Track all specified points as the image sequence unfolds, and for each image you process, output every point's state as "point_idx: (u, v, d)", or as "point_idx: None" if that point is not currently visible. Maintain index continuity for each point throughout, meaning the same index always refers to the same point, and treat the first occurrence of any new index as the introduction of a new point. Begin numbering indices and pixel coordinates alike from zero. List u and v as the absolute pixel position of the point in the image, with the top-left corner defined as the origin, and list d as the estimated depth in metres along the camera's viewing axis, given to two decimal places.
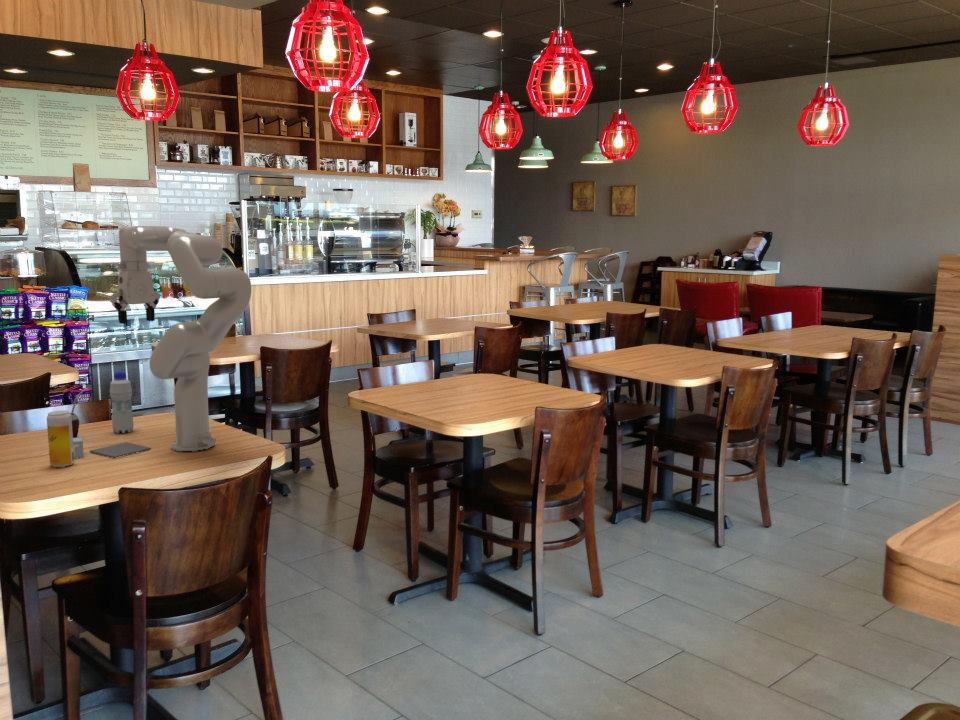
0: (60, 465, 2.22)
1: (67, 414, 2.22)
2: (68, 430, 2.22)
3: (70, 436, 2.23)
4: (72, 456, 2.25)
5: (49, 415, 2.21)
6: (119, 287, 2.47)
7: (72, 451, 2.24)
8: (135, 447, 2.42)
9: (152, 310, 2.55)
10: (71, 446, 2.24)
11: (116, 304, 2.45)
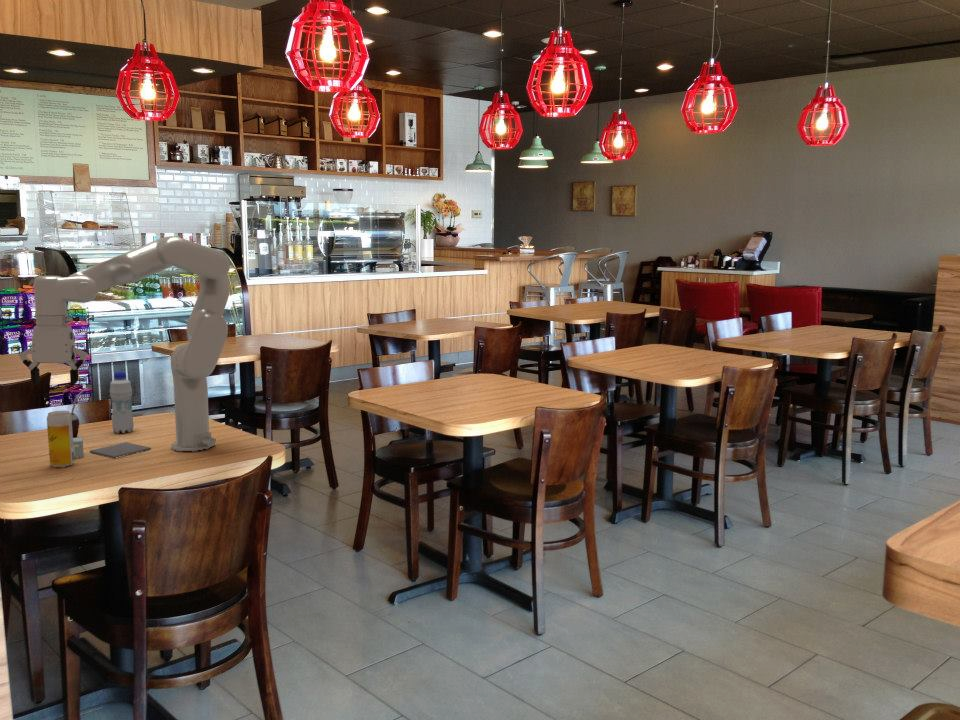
0: (60, 465, 2.22)
1: (67, 414, 2.22)
2: (68, 430, 2.22)
3: (70, 436, 2.23)
4: (72, 456, 2.25)
5: (49, 415, 2.21)
6: (71, 343, 2.20)
7: (72, 451, 2.24)
8: (135, 447, 2.42)
9: None
10: (71, 446, 2.24)
11: None
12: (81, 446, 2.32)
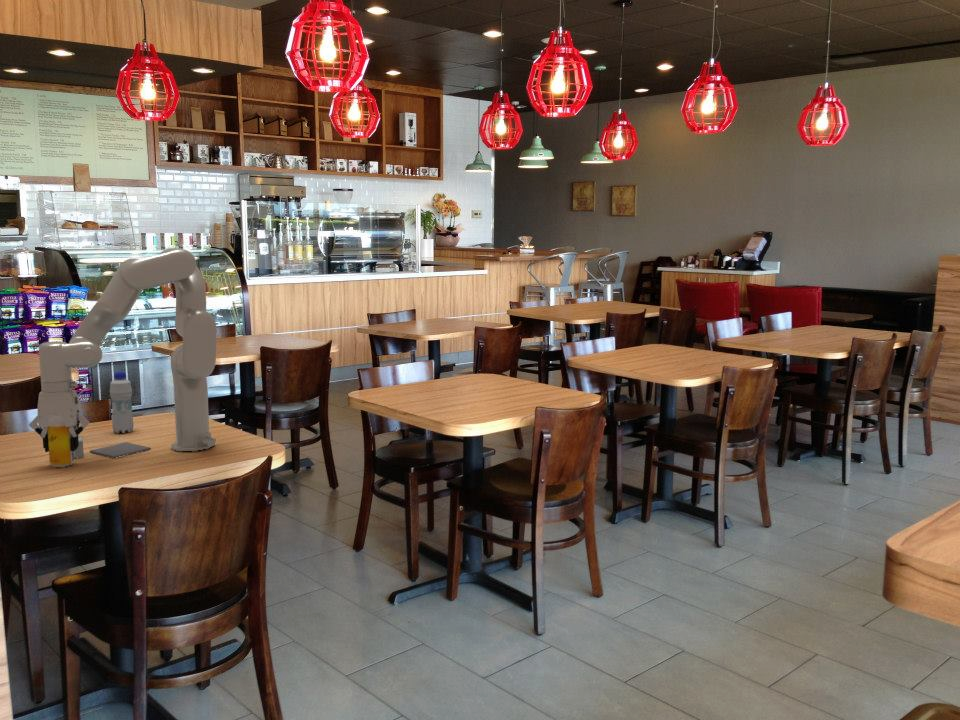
0: (59, 465, 2.22)
1: None
2: (68, 430, 2.22)
3: (70, 436, 2.23)
4: (72, 456, 2.25)
5: None
6: (77, 408, 2.23)
7: (72, 451, 2.24)
8: (135, 447, 2.42)
9: None
10: None
11: None
12: (81, 446, 2.32)
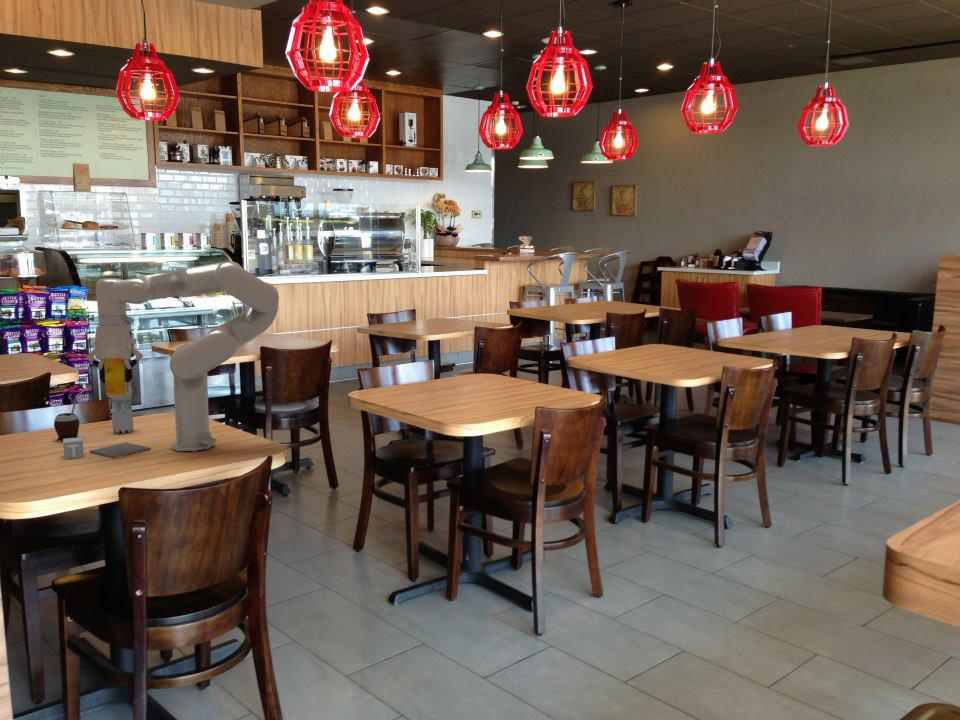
0: (115, 395, 2.35)
1: None
2: (123, 362, 2.35)
3: (125, 368, 2.36)
4: (127, 387, 2.37)
5: None
6: (131, 341, 2.36)
7: (126, 383, 2.37)
8: (135, 447, 2.42)
9: None
10: None
11: None
12: (81, 446, 2.32)
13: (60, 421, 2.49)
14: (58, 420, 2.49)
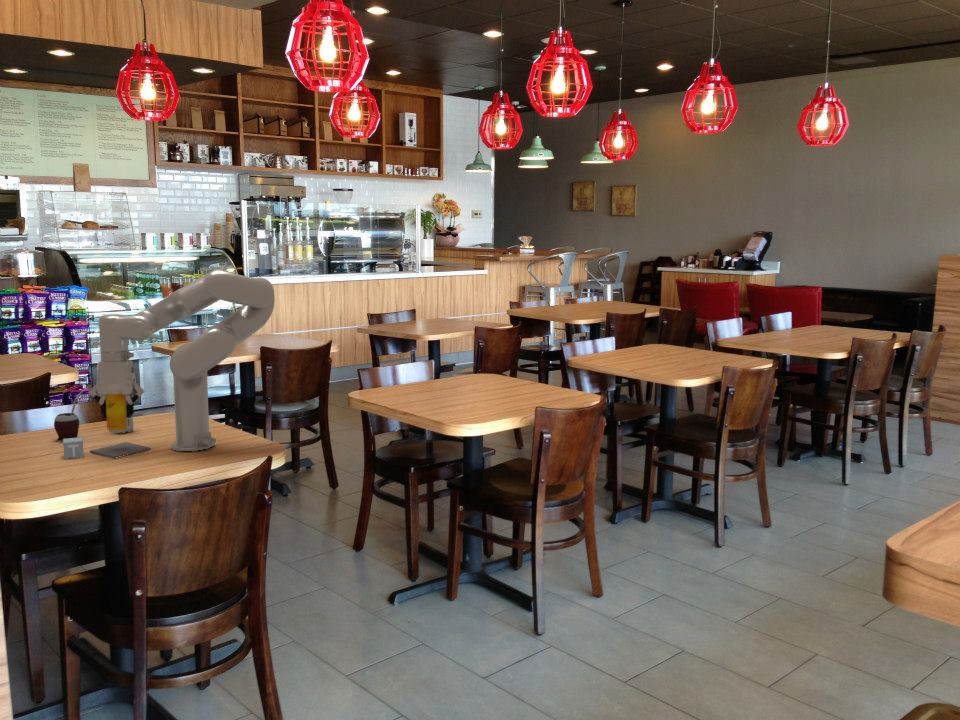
0: (116, 430, 2.36)
1: None
2: (124, 398, 2.37)
3: (126, 403, 2.38)
4: (128, 422, 2.39)
5: None
6: (133, 377, 2.37)
7: (128, 418, 2.39)
8: (135, 447, 2.42)
9: None
10: None
11: None
12: (81, 446, 2.32)
13: (60, 421, 2.49)
14: (58, 420, 2.49)
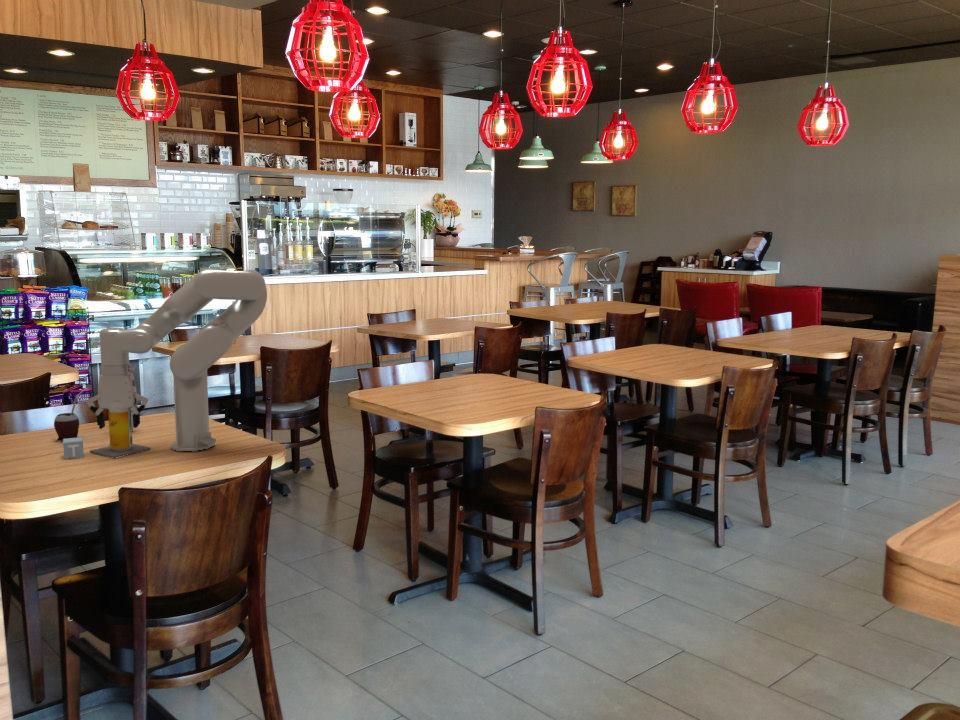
0: (119, 448, 2.37)
1: None
2: (127, 416, 2.38)
3: (129, 422, 2.38)
4: (131, 440, 2.40)
5: None
6: (134, 390, 2.38)
7: (130, 436, 2.39)
8: (135, 447, 2.42)
9: None
10: (130, 431, 2.39)
11: None
12: (81, 446, 2.32)
13: (60, 421, 2.49)
14: (58, 420, 2.49)
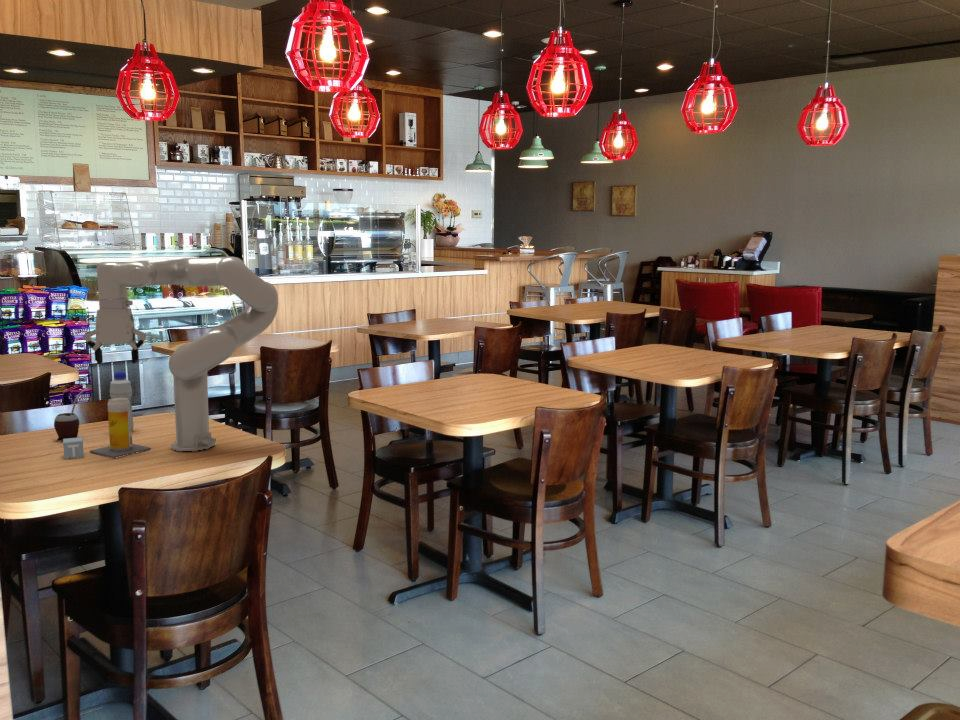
0: (119, 448, 2.37)
1: (126, 401, 2.38)
2: (127, 416, 2.38)
3: (129, 421, 2.38)
4: (130, 440, 2.40)
5: (110, 401, 2.36)
6: (132, 325, 2.36)
7: (130, 436, 2.39)
8: (135, 447, 2.42)
9: None
10: (129, 431, 2.39)
11: None
12: (81, 446, 2.32)
13: (60, 421, 2.49)
14: (58, 420, 2.49)
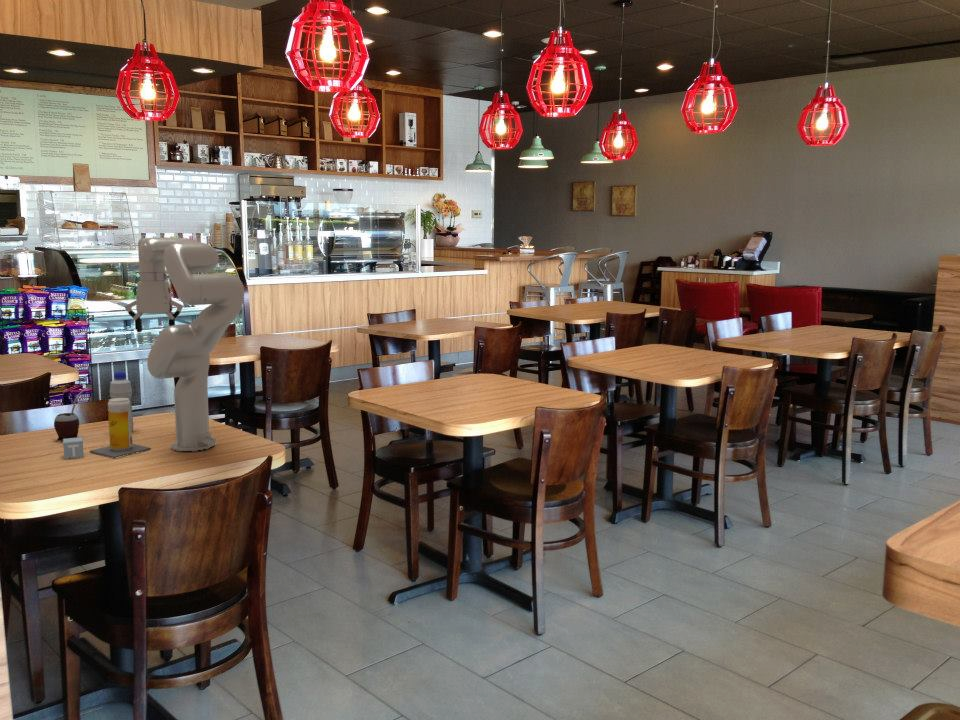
0: (119, 448, 2.37)
1: (126, 401, 2.37)
2: (127, 416, 2.38)
3: (129, 422, 2.38)
4: (131, 440, 2.40)
5: (110, 402, 2.36)
6: (169, 297, 2.55)
7: (130, 436, 2.39)
8: (135, 447, 2.42)
9: None
10: (130, 431, 2.39)
11: None
12: (81, 446, 2.32)
13: (60, 421, 2.49)
14: (58, 420, 2.49)
